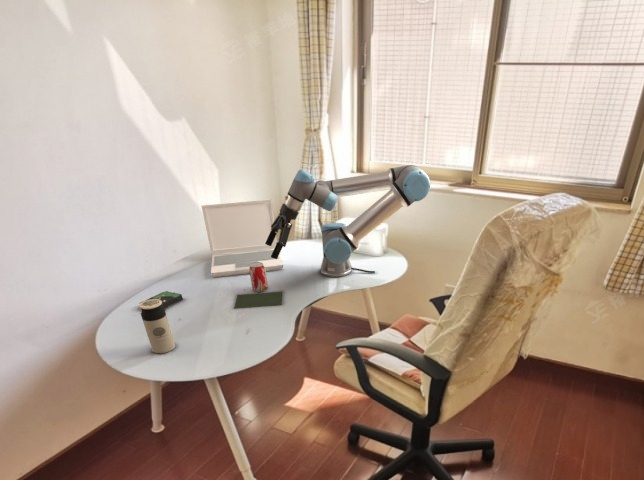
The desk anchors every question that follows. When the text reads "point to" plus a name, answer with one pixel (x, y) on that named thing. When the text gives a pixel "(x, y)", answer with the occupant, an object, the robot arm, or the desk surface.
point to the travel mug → (157, 326)
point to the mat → (258, 300)
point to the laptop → (240, 236)
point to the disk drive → (167, 298)
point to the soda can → (258, 277)
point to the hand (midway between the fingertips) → (270, 251)
